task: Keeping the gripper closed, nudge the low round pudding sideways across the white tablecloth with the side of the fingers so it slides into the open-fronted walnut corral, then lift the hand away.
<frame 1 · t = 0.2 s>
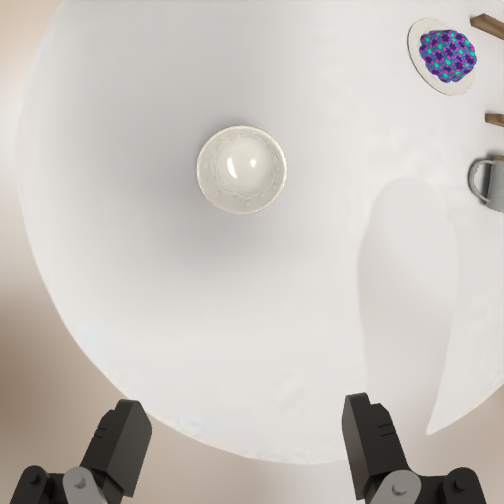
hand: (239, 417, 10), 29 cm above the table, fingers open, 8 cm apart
ceramic mug: (489, 182, 34), on the table
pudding: (441, 57, 28), on the table
white cup: (246, 163, 35), on the table
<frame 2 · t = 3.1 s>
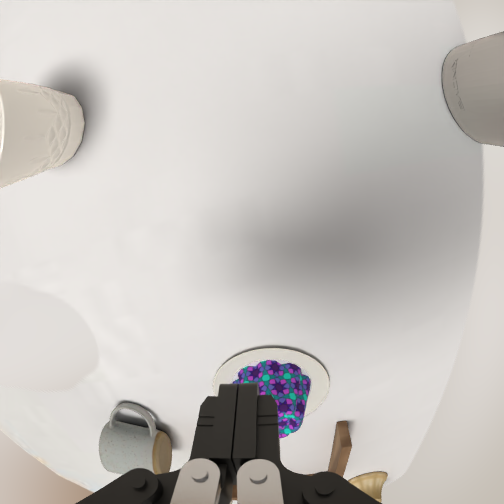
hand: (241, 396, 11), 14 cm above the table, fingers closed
ceramic mug: (140, 424, 33), on the table
corral: (277, 456, 34), on the table
hand bell: (364, 480, 38), on the table
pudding: (271, 385, 29), on the table
white cup: (57, 129, 20), on the table
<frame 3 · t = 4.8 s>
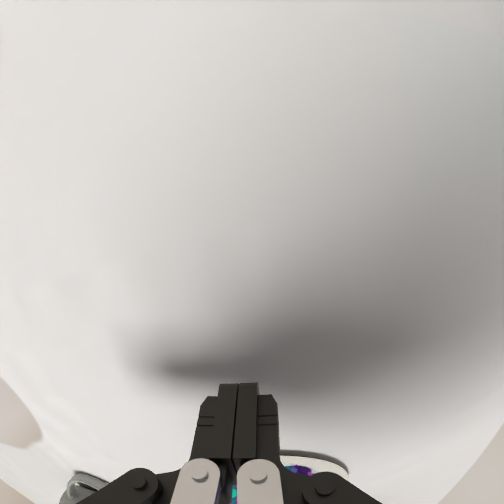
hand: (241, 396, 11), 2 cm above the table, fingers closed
ceramic mug: (105, 491, 21), on the table
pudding: (267, 480, 18), on the table
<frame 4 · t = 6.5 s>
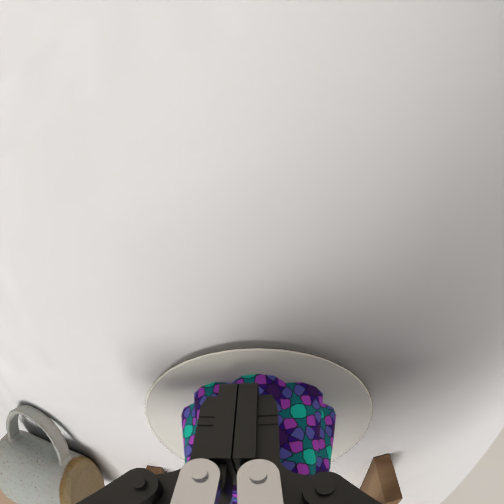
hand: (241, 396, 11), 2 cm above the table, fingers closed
ceramic mug: (56, 440, 18), on the table
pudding: (258, 419, 14), on the table, touching gripper
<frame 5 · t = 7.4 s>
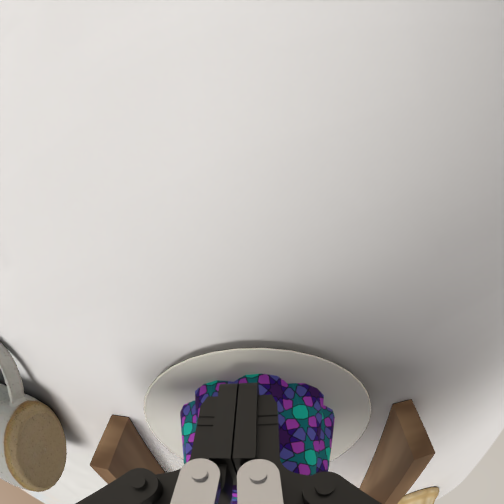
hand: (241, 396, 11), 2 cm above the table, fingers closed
ceramic mug: (17, 387, 15), on the table
corral: (266, 478, 17), on the table
hand bell: (405, 501, 21), on the table
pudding: (257, 419, 14), on the table, touching gripper
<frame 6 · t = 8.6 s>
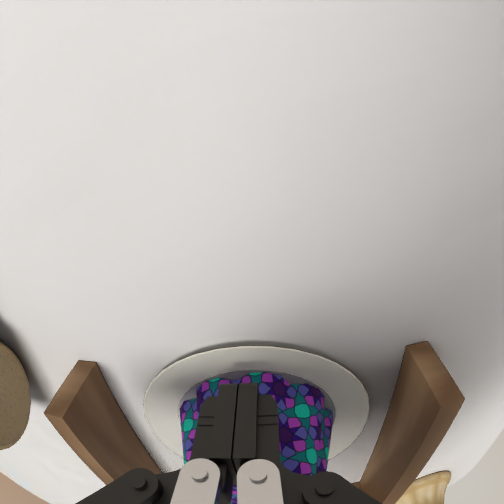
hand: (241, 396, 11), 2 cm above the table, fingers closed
corral: (257, 451, 15), on the table
hand bell: (414, 489, 20), on the table
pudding: (256, 417, 15), on the table
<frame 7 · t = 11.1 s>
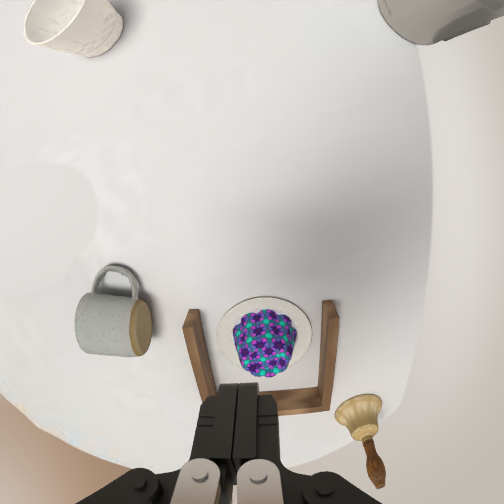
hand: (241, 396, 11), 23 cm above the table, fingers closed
ceramic mug: (122, 300, 36), on the table
corral: (264, 353, 38), on the table
hand bell: (358, 409, 43), on the table
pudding: (264, 334, 38), on the table
white cup: (99, 33, 24), on the table
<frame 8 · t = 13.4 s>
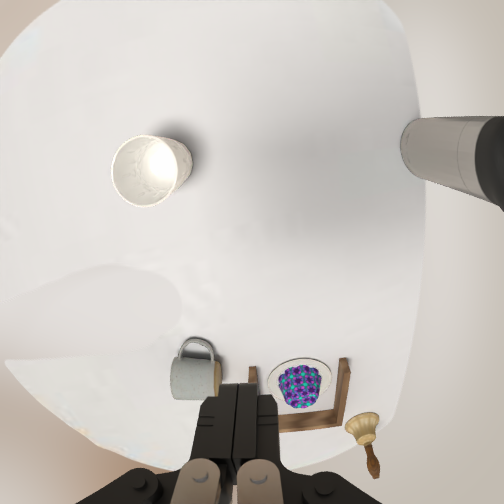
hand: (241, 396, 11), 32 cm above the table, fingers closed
ceramic mug: (198, 359, 51), on the table
corral: (298, 390, 53), on the table
hand bell: (361, 422, 58), on the table
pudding: (299, 378, 53), on the table
white cup: (169, 163, 39), on the table
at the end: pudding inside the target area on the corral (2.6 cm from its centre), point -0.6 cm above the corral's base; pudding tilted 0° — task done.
